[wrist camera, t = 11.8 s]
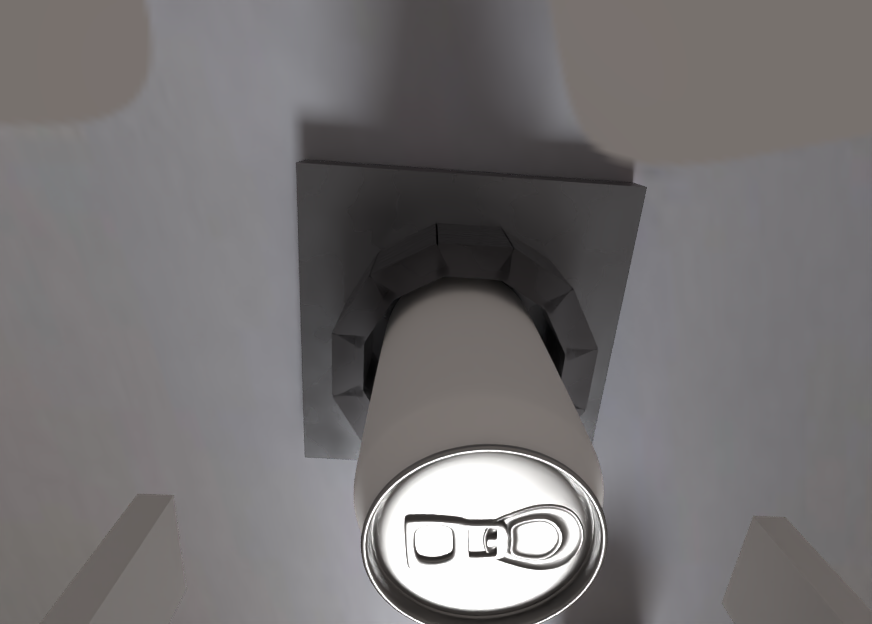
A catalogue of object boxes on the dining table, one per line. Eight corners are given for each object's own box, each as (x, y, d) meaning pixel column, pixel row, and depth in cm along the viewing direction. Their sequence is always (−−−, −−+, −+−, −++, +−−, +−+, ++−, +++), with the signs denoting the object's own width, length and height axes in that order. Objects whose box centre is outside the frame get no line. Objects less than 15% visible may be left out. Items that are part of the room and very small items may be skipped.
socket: (311, 439, 26) (285, 508, 22) (305, 159, 21) (269, 171, 17) (577, 453, 27) (608, 524, 22) (633, 182, 22) (687, 200, 17)
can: (528, 396, 24) (613, 644, 13) (390, 401, 24) (354, 653, 13) (533, 263, 22) (643, 424, 10) (380, 268, 22) (325, 434, 10)
